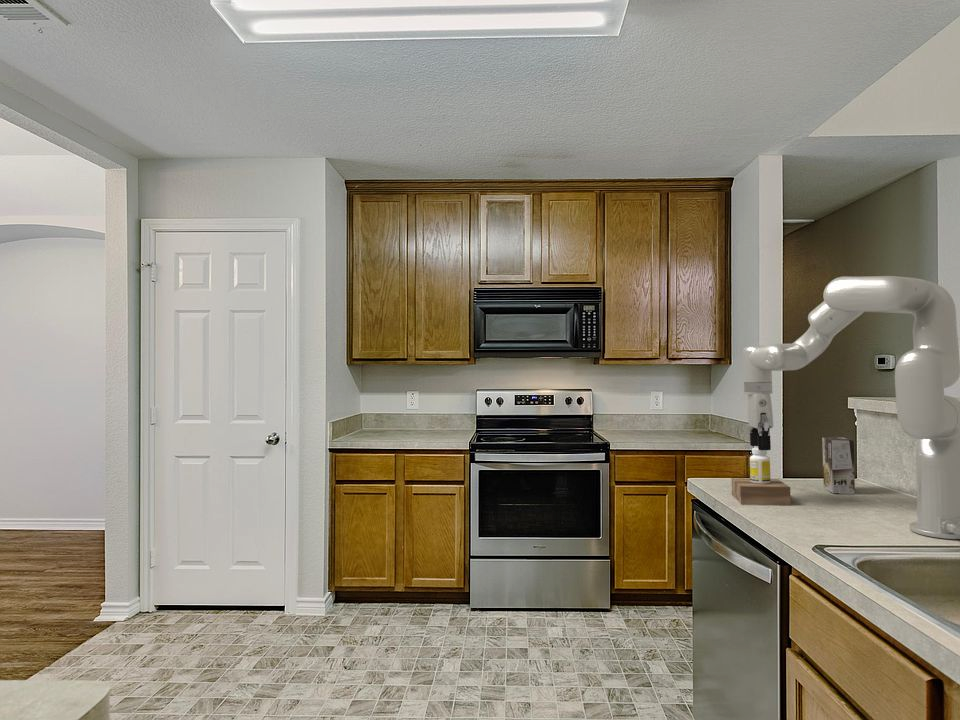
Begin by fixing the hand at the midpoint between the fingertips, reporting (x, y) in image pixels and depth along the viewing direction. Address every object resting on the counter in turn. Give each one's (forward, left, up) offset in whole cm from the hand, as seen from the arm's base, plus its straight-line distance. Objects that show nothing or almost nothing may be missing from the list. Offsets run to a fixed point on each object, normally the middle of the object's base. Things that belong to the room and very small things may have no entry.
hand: (760, 448), depth 188 cm
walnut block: (0, 0, -15) cm, 15 cm away
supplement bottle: (0, 0, -10) cm, 10 cm away
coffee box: (+15, -26, -15) cm, 34 cm away
